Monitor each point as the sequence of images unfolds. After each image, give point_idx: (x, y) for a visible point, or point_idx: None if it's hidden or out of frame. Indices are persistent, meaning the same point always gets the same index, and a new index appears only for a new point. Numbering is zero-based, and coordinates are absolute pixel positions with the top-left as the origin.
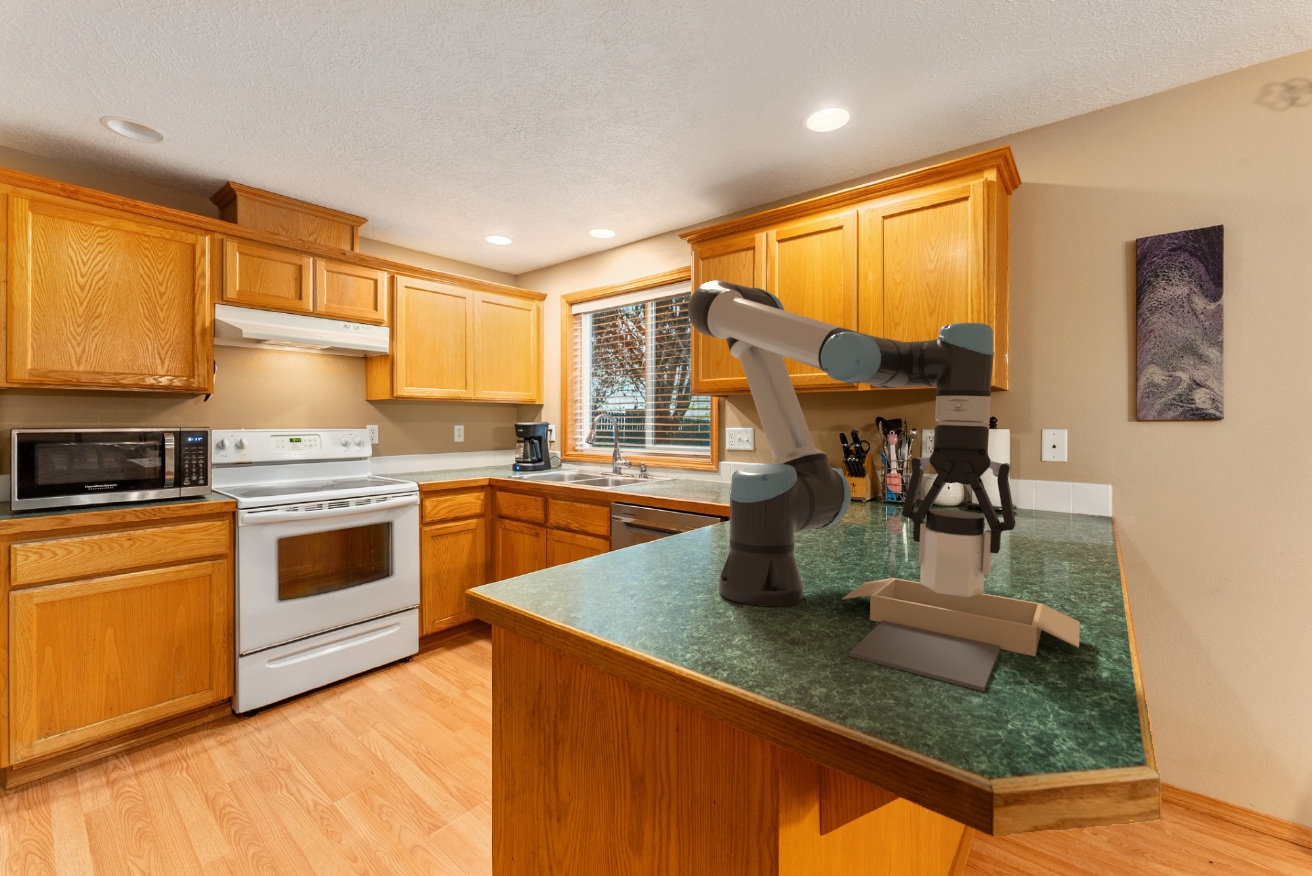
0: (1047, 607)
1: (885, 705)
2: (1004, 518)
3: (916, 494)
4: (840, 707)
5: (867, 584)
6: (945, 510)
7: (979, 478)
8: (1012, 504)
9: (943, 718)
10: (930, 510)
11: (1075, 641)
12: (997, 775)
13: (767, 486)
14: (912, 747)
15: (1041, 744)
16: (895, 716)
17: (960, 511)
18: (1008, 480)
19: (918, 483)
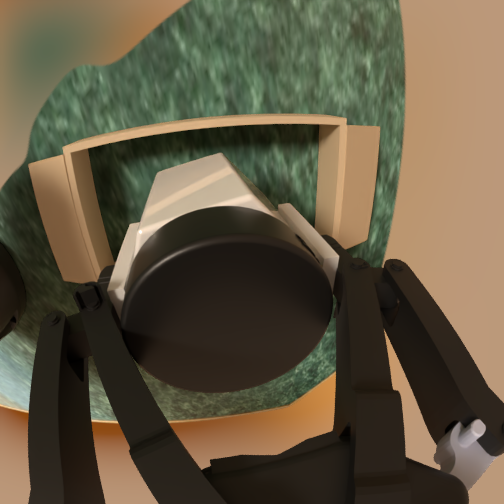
0: (352, 132)
1: (226, 396)
2: (384, 325)
3: (75, 404)
4: (207, 409)
5: (42, 190)
6: (170, 296)
7: (393, 437)
8: (438, 309)
9: (261, 387)
10: (132, 343)
11: (366, 228)
12: (291, 401)
13: None
14: (254, 410)
15: (311, 373)
16: (236, 400)
17: (232, 262)
18: (483, 381)
19: (89, 460)
